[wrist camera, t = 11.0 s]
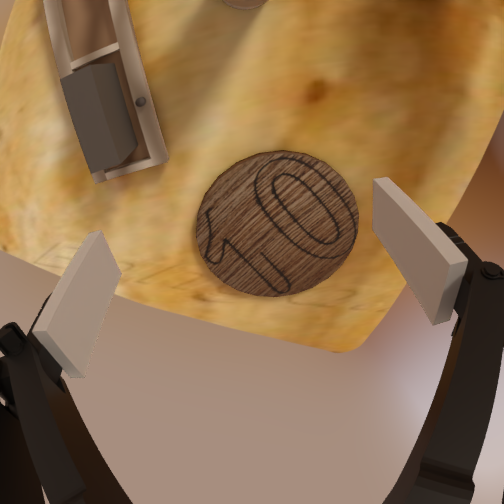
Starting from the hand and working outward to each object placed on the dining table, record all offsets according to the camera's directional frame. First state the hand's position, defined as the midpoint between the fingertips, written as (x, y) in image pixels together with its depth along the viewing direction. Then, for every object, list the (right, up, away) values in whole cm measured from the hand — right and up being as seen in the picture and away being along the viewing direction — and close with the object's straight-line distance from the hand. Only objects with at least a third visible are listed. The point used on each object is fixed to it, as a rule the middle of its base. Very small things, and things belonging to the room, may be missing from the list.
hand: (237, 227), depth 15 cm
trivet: (+5, +3, +35) cm, 35 cm away
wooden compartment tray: (-19, +25, +17) cm, 36 cm away
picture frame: (-18, +18, +21) cm, 32 cm away
